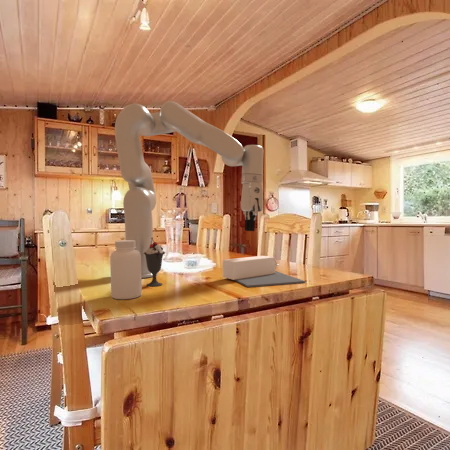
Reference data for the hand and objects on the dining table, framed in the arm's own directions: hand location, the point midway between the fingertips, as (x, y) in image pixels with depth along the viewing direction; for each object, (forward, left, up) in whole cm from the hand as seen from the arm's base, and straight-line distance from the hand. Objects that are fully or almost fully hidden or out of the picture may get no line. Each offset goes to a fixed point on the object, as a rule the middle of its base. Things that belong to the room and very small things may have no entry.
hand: (249, 230), depth 122 cm
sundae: (-35, -6, -16) cm, 39 cm away
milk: (-11, -7, -12) cm, 18 cm away
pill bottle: (-44, -18, -16) cm, 50 cm away
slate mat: (+1, -10, -16) cm, 19 cm away
